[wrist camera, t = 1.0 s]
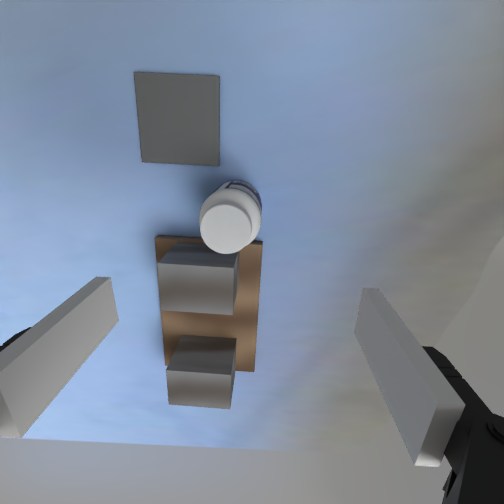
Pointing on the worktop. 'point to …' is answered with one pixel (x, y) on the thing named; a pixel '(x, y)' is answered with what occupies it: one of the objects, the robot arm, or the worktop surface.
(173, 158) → the pad
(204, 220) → the pill bottle
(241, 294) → the board with two blocks
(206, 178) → the worktop surface
